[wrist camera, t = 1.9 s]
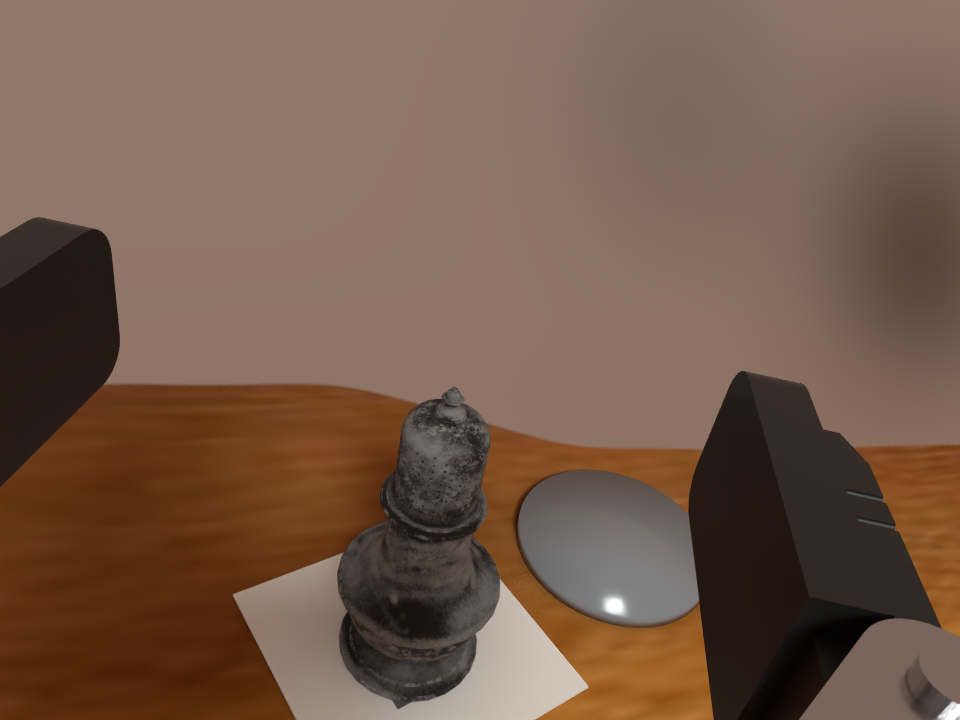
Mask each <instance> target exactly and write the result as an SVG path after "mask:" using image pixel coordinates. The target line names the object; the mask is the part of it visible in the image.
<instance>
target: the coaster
mask: <svg viewBox="0 0 960 720" xmlns="http://www.w3.org/2000/svg"><path fill="white" fill-rule="evenodd" d="M516 532H517V542H518V546H519V550H520V553H521V555H522V557H523V560H524V562H525V563H526V565H527V567H528V569H529V570H530V572H531V573H532V574H533V576H534V577H535V578H536V579H537V581H538V582H539V583H540V584H541V585H542V586H543V587H544V588H545V589H546V590H547V591H548V592H549V593H551V594H552V595H553V596H554V597H555V598H557V599H558V600H559V601H561V602H562V603H564V604H565V605H567V606H568V607H570V608H572V609H574V610H576V611H577V612H579V613H581V614H583V615H586V616H588V617H591V618H593V619H595V620H599V621H602V622H605V623H608V624H613V625H618V626H624V627H635V628H642V627H655V626H662V625H665V624H668V623H672V622H674V621H676V620H679V619H681V618H683V617H684V616H686V615H687V614H688V613H690V612H691V611H692V610H693V609H694V608H695V607H696V606H697V605H698V604H699V595H698V587H697V579H696V571H695V563H694V555H693V547H692V538H691V530H690V522H689V514H688V513H687V512H686V511H685V510H684V509H683V508H681V507H680V506H679V505H678V504H677V503H676V502H674V501H673V500H672V499H671V498H669V497H668V496H666V495H665V494H663V493H662V492H660V491H658V490H656V489H655V488H653V487H651V486H649V485H647V484H645V483H643V482H641V481H638V480H635V479H633V478H630V477H627V476H624V475H620V474H616V473H611V472H606V471H598V470H576V471H569V472H564V473H560V474H557V475H554V476H552V477H549V478H547V479H545V480H544V481H542V482H540V483H539V484H537V485H536V486H535V487H534V488H533V489H532V490H531V491H530V492H529V494H528V495H527V496H526V498H525V500H524V502H523V504H522V507H521V510H520V514H519V517H518V521H517V530H516Z"/></svg>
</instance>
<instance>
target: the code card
mask: <svg viewBox="0 0 960 720" xmlns="http://www.w3.org/2000/svg"><path fill="white" fill-rule="evenodd" d="M342 555H343V553H341V554H339V555H336V556H333V557H331V558H328V559H325V560H323V561H320V562H317V563H315V564H312V565H309V566H307V567H304V568H301V569H299V570H296V571H293V572H291V573H288V574H285V575H283V576H280V577H278V578H275V579H272V580H270V581H267V582H264V583H262V584H259V585H256V586H254V587H251V588H248V589H246V590H243V591H240V592H238V593H235V594H233V597H234V599H235V601H236V603H237V605H238V607H239V609H240V611H241V613H242V615H243V617H244V619H245V621H246V623H247V625H248V627H249V629H250V631H251V633H252V635H253V637H254V639H255V641H256V643H257V645H258V647H259V649H260V650H261V652H262V654H263V656H264V658H265V660H266V662H267V664H268V666H269V668H270V670H271V672H272V674H273V676H274V678H275V680H276V682H277V684H278V686H279V688H280V690H281V692H282V694H283V696H284V698H285V700H286V702H287V703H288V705H289V707H290V709H291V711H292V713H293V715H294V717H295V719H296V720H535V719H537V718H539V717H540V716H542V715H544V714H545V713H547V712H549V711H550V710H552V709H554V708H555V707H557V706H559V705H560V704H562V703H564V702H566V701H567V700H569V699H571V698H572V697H574V696H576V695H577V694H579V693H581V692H582V691H584V690H586V689H587V688H588V685H587V684H586V683H585V682H584V680H583V679H582V678H581V677H580V676H579V674H578V673H577V672H576V671H575V670H574V668H573V667H572V666H571V665H570V663H569V662H568V661H567V660H566V659H565V657H564V656H563V655H562V654H561V653H560V651H559V650H558V649H557V648H556V647H555V645H554V644H553V643H552V642H551V640H550V639H549V638H548V637H547V636H546V634H545V633H544V632H543V631H542V630H541V628H540V627H539V626H538V625H537V623H536V622H535V621H534V620H533V619H532V617H531V616H530V615H529V614H528V613H527V611H526V610H525V609H524V608H523V606H522V605H521V604H520V603H519V602H518V600H517V599H516V598H515V597H514V596H513V594H512V593H511V592H510V591H509V589H508V588H507V587H506V586H505V585H504V583H503V582H502V581H501V580H500V598H499V601H498V604H497V606H496V609H495V611H494V614H493V616H492V617H491V618H490V620H489V621H488V622H487V623H486V625H485V626H484V627H483V628H482V629H481V630H480V631H479V632H477V633H476V638H477V645H476V656H475V659H474V661H473V664H472V667H471V669H470V671H469V673H468V674H467V675H466V677H465V678H464V679H463V680H462V682H461V683H460V684H459V685H458V686H456V687H455V688H453V689H452V690H450V691H449V692H448V693H446V694H444V695H442V696H439V697H436V698H433V699H431V700H427V701H417V702H403V701H396V700H390V699H387V698H385V697H382V696H380V695H377V694H375V693H372V692H371V691H370V690H368V689H367V688H365V687H364V686H363V685H361V684H360V683H359V682H357V681H356V679H355V678H354V677H353V675H352V674H351V673H350V672H349V670H348V669H347V668H346V666H345V663H344V661H343V658H342V656H341V653H340V644H339V633H340V628H341V624H342V620H343V618H344V616H345V614H346V613H347V610H346V609H345V606H344V604H343V602H342V599H341V597H340V595H339V592H338V581H337V572H338V568H339V564H340V560H341V556H342Z"/></svg>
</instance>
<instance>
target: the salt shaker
mask: <svg viewBox="0 0 960 720" xmlns="http://www.w3.org/2000/svg"><path fill="white" fill-rule="evenodd" d="M463 402H464V397H463V396H462V395H461V393H460V391H458V389H457V388H456V387H453V388H452V389H450V390H448V392H445V393H444V394H443V395H442V399H434V400H428V401H426V402H423V403H421V404H420V405H418V406H417V407H415V408H414V409H413V410H411V411H410V412H409V414H408V415H407V417H406V418H405V421H404V423H403V426H402V431H401V438H400V445H399V452H398V459H397V466H396V471H395V472H393V473H392V474H391V475H390V476H388V478H387V479H386V481H385V482H384V484H383V486H382V490H381V495H380V499H381V505H382V508H383V510H384V512H385V514H386V516H387V519H386V521H384V522H381V523H379V524H376V525H374V526H372V527H370V528H368V529H366V530H364V531H363V532H362V533H361V534H360V535H358V536H357V537H356V538H355V539H354V540H353V541H351V542H350V544H349V546H348V547H347V549H346V550H345V552H344V553H343V555H342V556H341V560H340V564H339V568H338V572H337V581H338V592H339V595H340V597H341V599H342V602H343V604H344V606H345V609H346V610H347V613H346V614H345V616H344V618H343V620H342V624H341V628H340V633H339V644H340V653H341V656H342V658H343V661H344V663H345V666H346V668H347V669H348V670H349V672H350V673H351V674H352V675H353V677H354V678H355V679H356V681H357V682H359V683H360V684H361V685H363V686H364V687H365V688H367V689H368V690H370V691H371V692H372V693H375V694H377V695H380V696H382V697H385V698H387V699H390V700H396V701H403V702H417V701H427V700H431V699H433V698H436V697H439V696H442V695H444V694H446V693H448V692H449V691H450V690H452V689H453V688H455V687H456V686H458V685H459V684H460V683H461V682H462V680H463V679H464V678H465V677H466V675H467V674H468V673H469V671H470V669H471V667H472V664H473V661H474V659H475V656H476V645H477V638H476V633H477V632H479V631H480V630H481V629H482V628H483V627H484V626H485V625H486V623H487V622H488V621H489V620H490V618H491V617H492V616H493V614H494V611H495V609H496V606H497V604H498V601H499V598H500V578H499V575H498V571H497V568H496V564H495V563H494V561H493V560H492V558H491V556H490V555H489V553H488V552H487V550H486V549H485V548H484V547H483V546H482V545H481V544H480V543H479V542H478V541H477V540H476V539H475V538H474V537H472V534H473V533H474V532H475V531H476V530H477V529H478V528H479V527H480V526H481V525H482V524H483V521H484V519H485V517H486V514H487V500H486V497H485V494H484V492H483V490H482V489H481V484H482V480H483V475H484V471H485V466H486V462H487V458H488V453H489V449H490V431H489V428H488V426H487V424H486V422H485V421H484V419H483V418H482V417H481V415H480V414H479V413H478V412H477V411H476V410H474V409H473V408H472V407H470V406H468V405H466V404H464V403H463Z"/></svg>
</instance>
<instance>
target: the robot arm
mask: <svg viewBox="0 0 960 720" xmlns="http://www.w3.org/2000/svg"><path fill="white" fill-rule="evenodd" d="M119 346H120V333H119V324H118V313H117V304H116V293H115V283H114V273H113V263H112V254H111V248H110V244H109V241H108V239H107V237H106V236H105V234H104V233H102V232H101V231H99V230H97V229H92V228H87V227H83V226H78V225H74V224H69V223H65V222H60V221H55V220H50V219H46V218H40V217H37V218H33V219H31V220H29V221H27V222H25V223H23V224H22V225H20V226H18V227H17V228H15V229H13V230H11V231H10V232H8V233H7V234H5V235H3V236H1V237H0V487H1V486H2V485H3V484H4V483H5V482H6V481H7V480H8V479H9V478H10V477H11V476H12V475H13V474H14V473H15V472H16V471H17V470H18V469H19V468H20V467H21V466H22V465H23V464H24V463H25V462H26V461H27V460H28V459H29V458H30V457H31V456H32V455H33V454H34V453H35V452H36V451H37V450H38V449H39V448H40V447H41V446H42V445H43V444H44V443H45V442H46V441H47V440H48V439H49V438H50V437H51V436H52V435H53V434H54V433H55V432H56V431H57V430H58V429H59V428H60V427H61V426H62V425H63V424H64V423H65V422H66V421H67V420H68V419H69V418H70V417H71V416H72V415H73V414H74V413H75V412H76V411H77V410H78V409H79V408H80V407H81V406H82V405H83V404H84V403H85V402H86V401H87V400H88V399H89V398H90V397H91V396H92V395H93V394H94V393H95V392H96V391H97V390H98V389H99V388H100V387H101V386H102V385H103V384H104V383H105V382H106V381H107V379H108V378H109V376H110V374H111V373H112V371H113V368H114V366H115V363H116V360H117V357H118V352H119ZM882 501H883V495H882V493H881V490H880V488H879V486H878V483H877V481H876V479H875V477H874V474H873V472H872V470H871V468H870V465H869V464H868V463H867V462H866V461H865V460H864V459H863V458H862V456H861V455H860V454H859V453H858V452H857V451H856V450H855V449H854V448H853V447H852V446H851V445H850V444H849V443H848V442H847V441H846V440H845V438H844V437H843V436H842V435H841V434H840V433H836V432H832V431H827V430H823V428H822V426H821V423H820V421H819V418H818V416H817V413H816V410H815V407H814V405H813V402H812V400H811V397H810V395H809V392H808V390H807V388H806V386H805V385H803V384H801V383H796V382H791V381H787V380H782V379H778V378H773V377H769V376H764V375H759V374H755V373H750V372H745V371H741V372H739V373H738V374H737V375H736V376H735V378H734V379H733V381H732V383H731V384H730V386H729V389H728V391H727V394H726V396H725V398H724V401H723V403H722V406H721V408H720V410H719V413H718V415H717V418H716V420H715V423H714V425H713V427H712V430H711V432H710V435H709V438H708V439H707V442H706V444H705V447H704V449H703V452H702V454H701V456H700V459H699V461H698V464H697V466H696V469H695V472H694V476H693V479H692V484H691V489H690V495H689V522H690V530H691V538H692V547H693V555H694V563H695V571H696V579H697V587H698V595H699V603H700V612H701V620H702V628H703V636H704V644H705V652H706V660H707V668H708V677H709V685H710V693H711V701H712V709H713V717H714V720H960V637H958V636H956V635H954V634H952V633H950V632H948V631H946V630H944V629H942V628H941V626H940V624H939V621H938V619H937V617H936V614H935V612H934V610H933V608H932V605H931V603H930V601H929V599H928V596H927V594H926V592H925V590H924V587H923V585H922V583H921V581H920V578H919V576H918V574H917V572H916V569H915V567H914V565H913V563H912V560H911V558H910V556H909V553H908V551H907V549H906V547H905V544H904V542H903V540H902V538H901V535H900V533H899V532H898V531H895V525H896V524H895V522H894V520H893V517H892V515H891V513H890V511H889V508H888V506H887V504H885V503H882Z"/></svg>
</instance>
